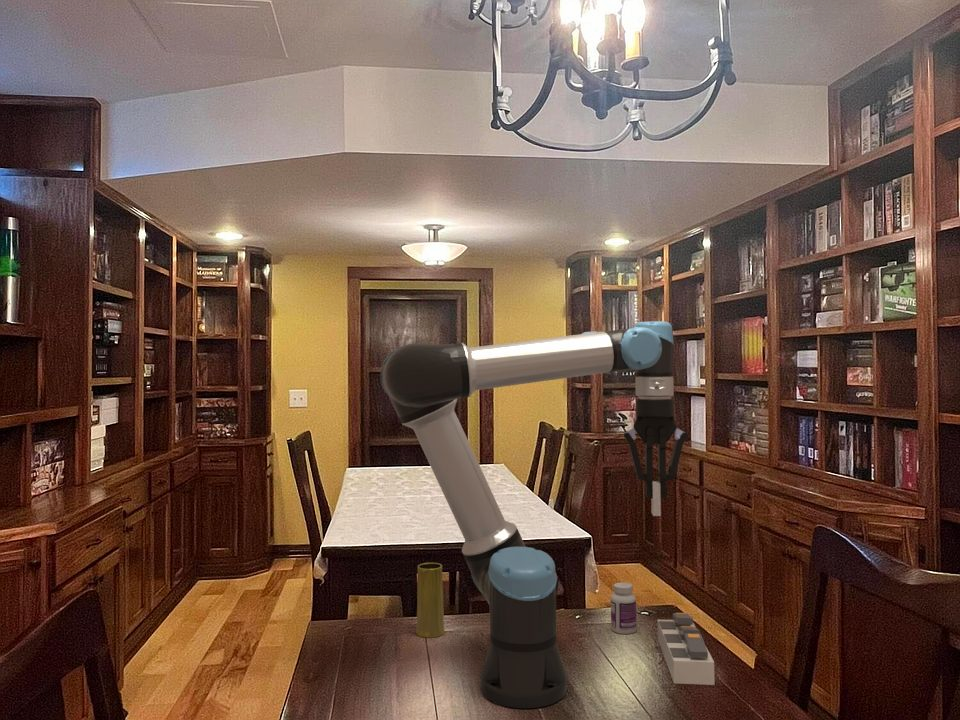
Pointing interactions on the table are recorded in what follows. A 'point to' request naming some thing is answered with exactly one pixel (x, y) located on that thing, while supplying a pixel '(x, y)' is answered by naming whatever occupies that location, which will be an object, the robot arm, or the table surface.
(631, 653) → the table surface
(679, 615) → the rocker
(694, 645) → the block
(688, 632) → the rocker
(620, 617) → the pill bottle
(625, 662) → the table surface
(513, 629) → the robot arm
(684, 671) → the power strip
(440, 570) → the vase
